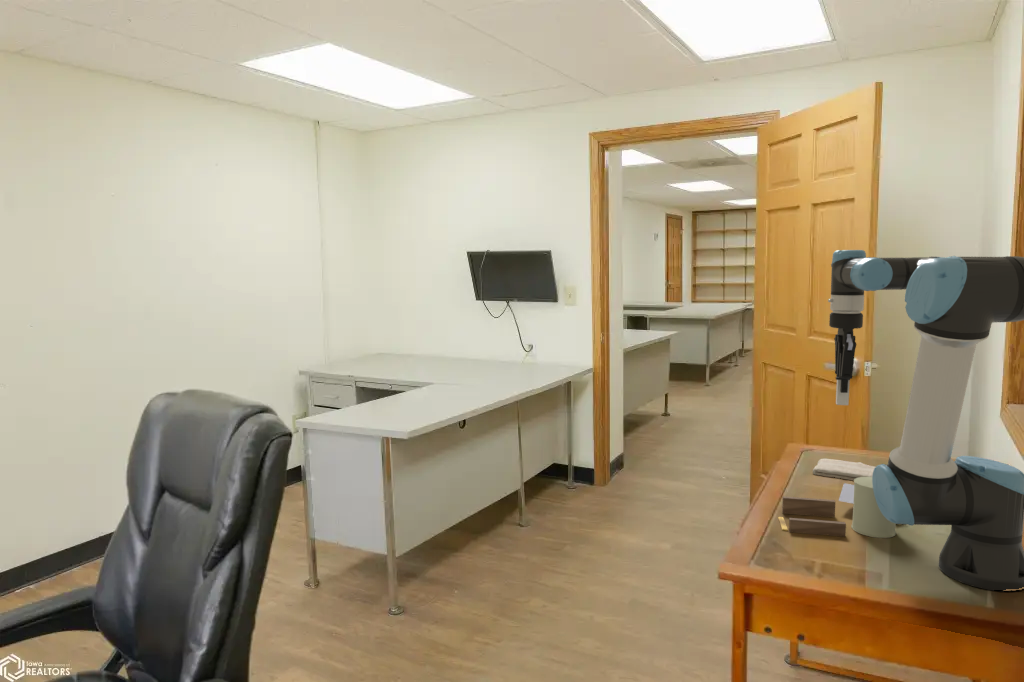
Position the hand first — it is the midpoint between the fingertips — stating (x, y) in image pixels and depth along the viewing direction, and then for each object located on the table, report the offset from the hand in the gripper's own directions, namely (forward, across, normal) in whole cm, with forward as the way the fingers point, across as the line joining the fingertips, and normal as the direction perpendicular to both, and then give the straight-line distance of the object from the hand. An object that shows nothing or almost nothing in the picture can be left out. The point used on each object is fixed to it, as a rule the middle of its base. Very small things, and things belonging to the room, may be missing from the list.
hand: (842, 404), depth 174 cm
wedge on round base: (+27, +5, +7) cm, 28 cm away
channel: (+27, +15, -8) cm, 32 cm away
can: (+27, +16, +5) cm, 31 cm away
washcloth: (+27, -29, +8) cm, 40 cm away
